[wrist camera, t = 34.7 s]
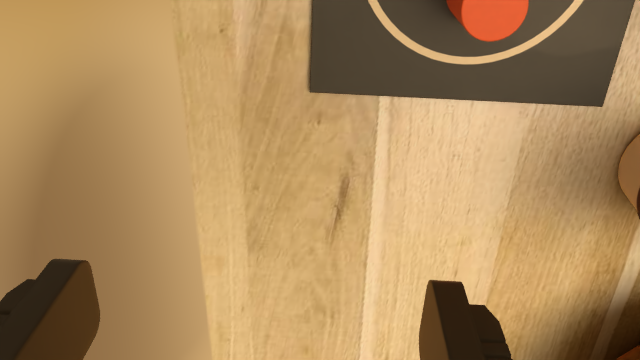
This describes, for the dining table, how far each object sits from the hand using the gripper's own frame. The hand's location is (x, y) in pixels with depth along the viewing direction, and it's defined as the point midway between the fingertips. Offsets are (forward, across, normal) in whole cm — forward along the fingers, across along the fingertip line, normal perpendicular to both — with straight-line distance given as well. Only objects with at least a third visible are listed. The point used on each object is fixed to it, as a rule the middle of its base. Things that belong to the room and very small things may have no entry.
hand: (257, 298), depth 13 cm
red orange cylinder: (+26, -10, -3) cm, 28 cm away
